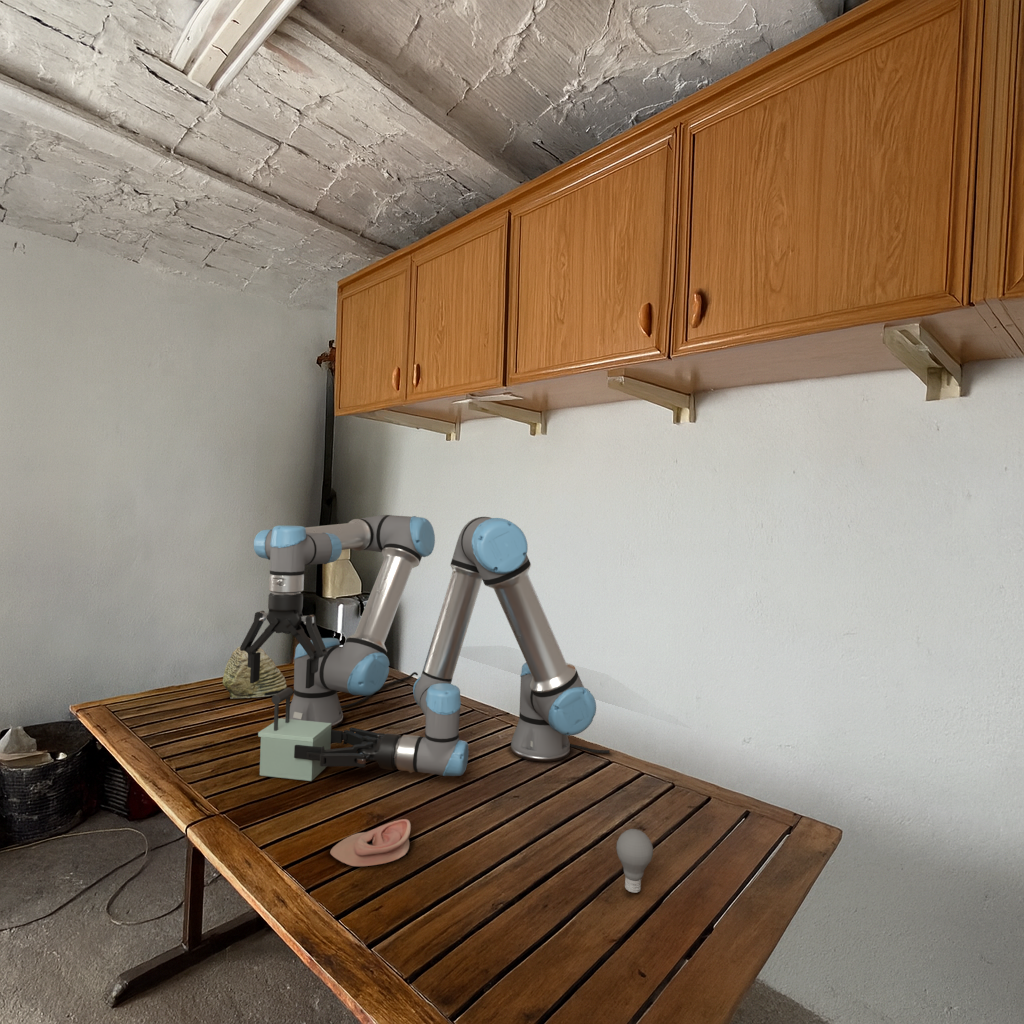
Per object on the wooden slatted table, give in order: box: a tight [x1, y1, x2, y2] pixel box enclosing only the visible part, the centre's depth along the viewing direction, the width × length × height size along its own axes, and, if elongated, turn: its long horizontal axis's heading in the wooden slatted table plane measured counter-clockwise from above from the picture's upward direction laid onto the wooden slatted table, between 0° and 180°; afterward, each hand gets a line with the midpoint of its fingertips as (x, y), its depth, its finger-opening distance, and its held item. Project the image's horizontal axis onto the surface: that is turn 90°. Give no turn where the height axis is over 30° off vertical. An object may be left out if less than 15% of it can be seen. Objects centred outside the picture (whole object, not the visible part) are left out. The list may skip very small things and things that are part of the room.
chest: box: [259, 728, 332, 782], centre depth 146 cm, size 12×10×9 cm
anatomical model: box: [329, 818, 412, 867], centre depth 114 cm, size 13×4×12 cm
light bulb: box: [615, 828, 654, 894], centre depth 106 cm, size 6×6×10 cm
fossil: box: [222, 646, 288, 699], centre depth 198 cm, size 9×18×15 cm, turn 132°
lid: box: [257, 687, 331, 742], centre depth 146 cm, size 13×10×9 cm
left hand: (282, 684), depth 146 cm, fingers open, 13 cm apart
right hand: (305, 742), depth 146 cm, fingers closed on chest, 10 cm apart
